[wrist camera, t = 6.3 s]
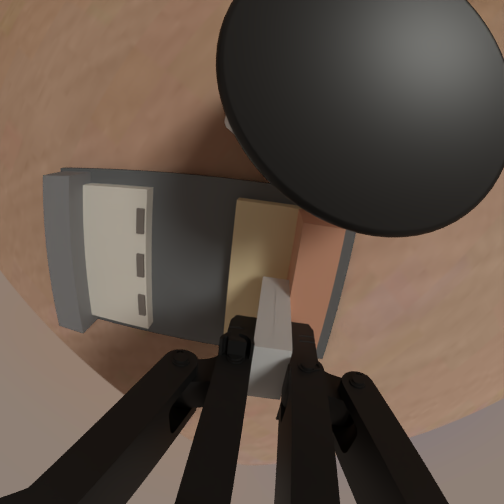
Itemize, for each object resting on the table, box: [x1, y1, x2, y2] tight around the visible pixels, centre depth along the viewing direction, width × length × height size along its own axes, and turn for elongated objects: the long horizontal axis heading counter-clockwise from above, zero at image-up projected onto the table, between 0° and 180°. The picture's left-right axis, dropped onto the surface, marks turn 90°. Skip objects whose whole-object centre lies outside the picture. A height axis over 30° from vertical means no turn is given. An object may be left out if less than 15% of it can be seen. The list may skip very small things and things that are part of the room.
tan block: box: [224, 198, 346, 349], centre depth 17 cm, size 6×10×4 cm, turn 173°
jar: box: [216, 0, 504, 237], centre depth 11 cm, size 9×8×12 cm
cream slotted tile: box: [43, 171, 153, 333], centre depth 19 cm, size 8×12×3 cm, turn 173°
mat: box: [61, 168, 356, 359], centre depth 20 cm, size 21×12×1 cm, turn 83°
